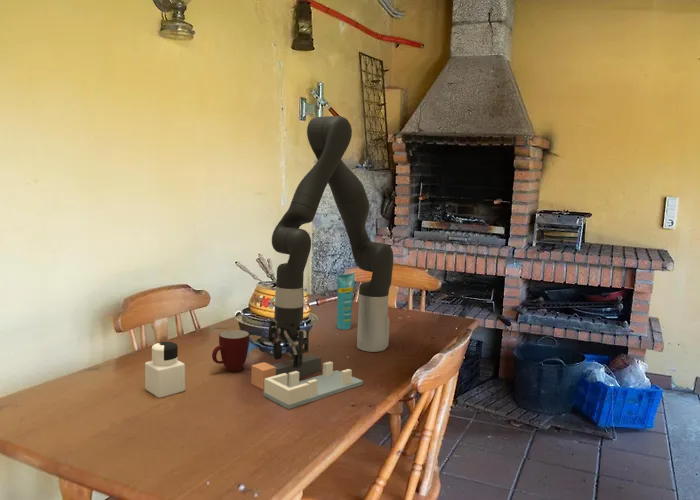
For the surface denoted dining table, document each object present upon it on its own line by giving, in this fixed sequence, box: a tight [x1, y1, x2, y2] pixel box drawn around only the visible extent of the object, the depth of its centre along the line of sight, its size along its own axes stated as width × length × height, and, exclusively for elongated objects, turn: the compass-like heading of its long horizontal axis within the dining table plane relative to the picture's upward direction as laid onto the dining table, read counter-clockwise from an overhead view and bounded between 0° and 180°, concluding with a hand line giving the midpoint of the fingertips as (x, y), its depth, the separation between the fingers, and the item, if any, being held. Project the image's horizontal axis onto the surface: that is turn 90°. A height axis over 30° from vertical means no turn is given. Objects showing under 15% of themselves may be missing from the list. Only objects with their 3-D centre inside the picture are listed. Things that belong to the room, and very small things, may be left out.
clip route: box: [263, 361, 364, 410], centre depth 150 cm, size 24×10×4 cm, turn 134°
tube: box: [336, 272, 356, 330], centre depth 205 cm, size 7×5×19 cm, turn 134°
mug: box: [211, 329, 250, 373], centre depth 161 cm, size 11×8×10 cm
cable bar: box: [250, 353, 322, 390], centre depth 158 cm, size 20×5×5 cm, turn 134°
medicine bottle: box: [144, 341, 186, 399], centre depth 146 cm, size 7×7×12 cm
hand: (287, 363), depth 157 cm, fingers open, 8 cm apart
